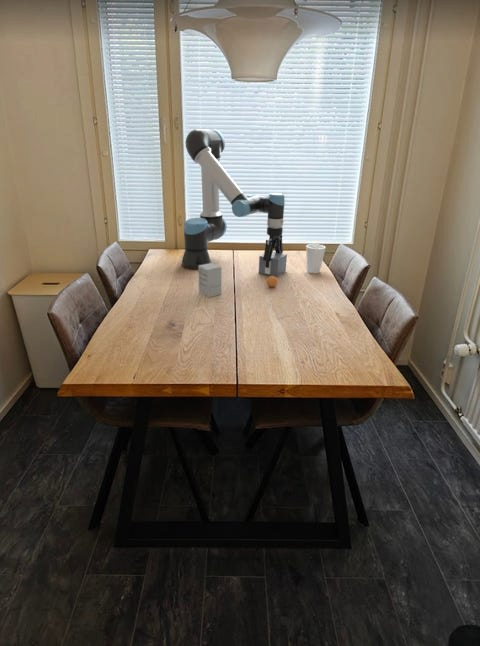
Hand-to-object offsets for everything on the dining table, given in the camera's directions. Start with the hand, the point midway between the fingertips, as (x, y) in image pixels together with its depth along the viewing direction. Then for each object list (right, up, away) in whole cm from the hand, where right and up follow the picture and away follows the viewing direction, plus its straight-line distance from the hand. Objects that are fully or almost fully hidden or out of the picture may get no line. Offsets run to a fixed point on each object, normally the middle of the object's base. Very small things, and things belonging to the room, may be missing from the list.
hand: (272, 270), depth 221 cm
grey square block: (0, -1, 0) cm, 1 cm away
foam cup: (+21, 0, +3) cm, 21 cm away
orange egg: (-1, -7, -20) cm, 21 cm away
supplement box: (-29, -14, -28) cm, 43 cm away
